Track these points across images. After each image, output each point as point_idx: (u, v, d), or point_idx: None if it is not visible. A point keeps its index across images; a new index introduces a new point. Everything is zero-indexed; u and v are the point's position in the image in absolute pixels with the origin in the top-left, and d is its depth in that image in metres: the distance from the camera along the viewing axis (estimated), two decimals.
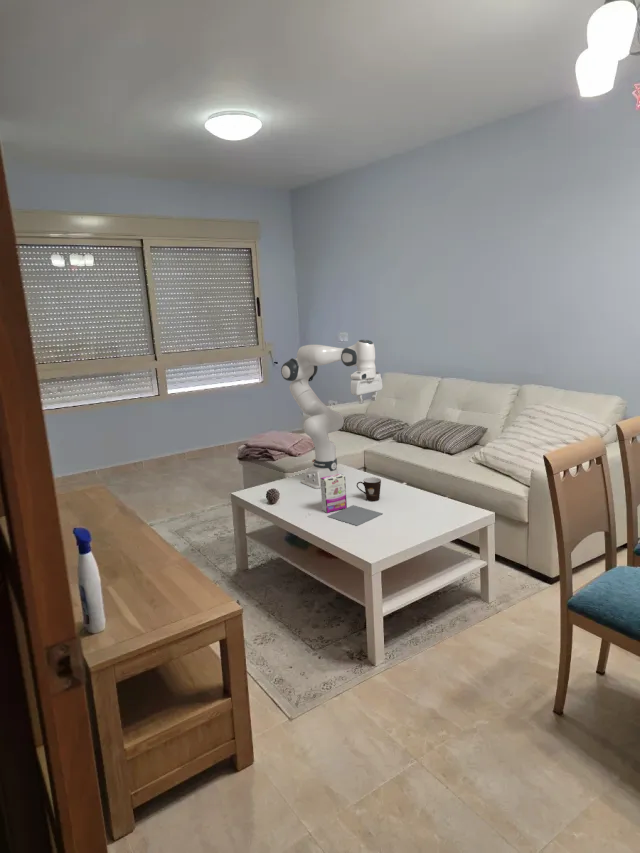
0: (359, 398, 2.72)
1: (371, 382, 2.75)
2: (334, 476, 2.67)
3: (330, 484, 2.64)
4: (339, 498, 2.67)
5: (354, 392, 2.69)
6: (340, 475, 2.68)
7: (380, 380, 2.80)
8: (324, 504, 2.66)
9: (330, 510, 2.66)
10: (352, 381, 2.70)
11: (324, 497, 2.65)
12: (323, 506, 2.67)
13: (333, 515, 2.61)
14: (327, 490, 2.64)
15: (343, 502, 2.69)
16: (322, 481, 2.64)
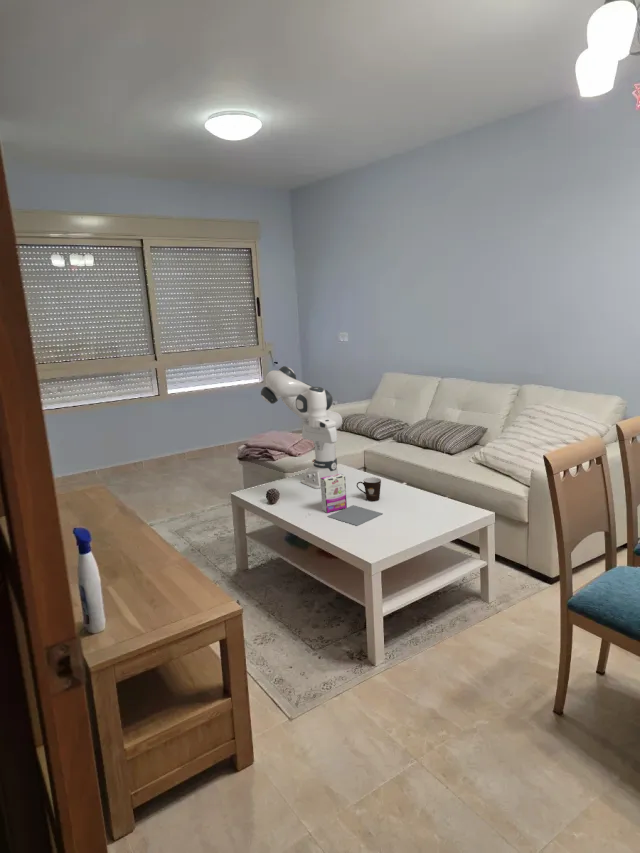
0: (322, 445, 2.68)
1: None
2: (334, 476, 2.67)
3: (330, 484, 2.64)
4: (339, 498, 2.67)
5: (335, 440, 2.62)
6: (340, 475, 2.68)
7: None
8: (324, 504, 2.66)
9: (330, 510, 2.66)
10: (330, 429, 2.60)
11: (324, 497, 2.65)
12: (323, 506, 2.67)
13: (333, 515, 2.61)
14: (327, 490, 2.64)
15: (343, 502, 2.69)
16: (322, 481, 2.64)
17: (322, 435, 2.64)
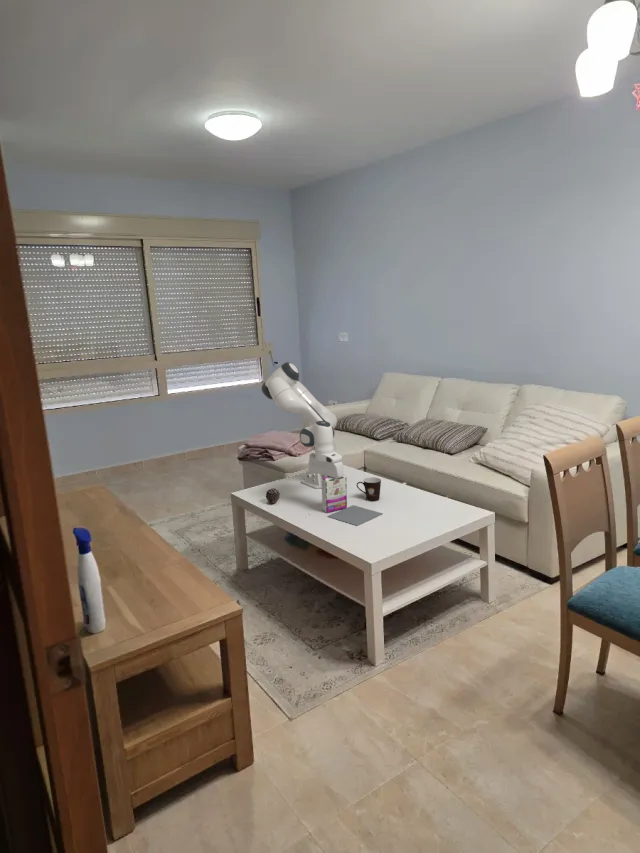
0: None
1: None
2: None
3: (331, 485, 2.63)
4: (339, 499, 2.67)
5: (341, 474, 2.62)
6: None
7: None
8: (324, 504, 2.66)
9: (330, 510, 2.66)
10: (336, 464, 2.61)
11: (325, 497, 2.64)
12: (323, 506, 2.67)
13: (333, 515, 2.61)
14: (328, 491, 2.63)
15: (343, 502, 2.68)
16: (323, 481, 2.63)
17: (328, 469, 2.64)
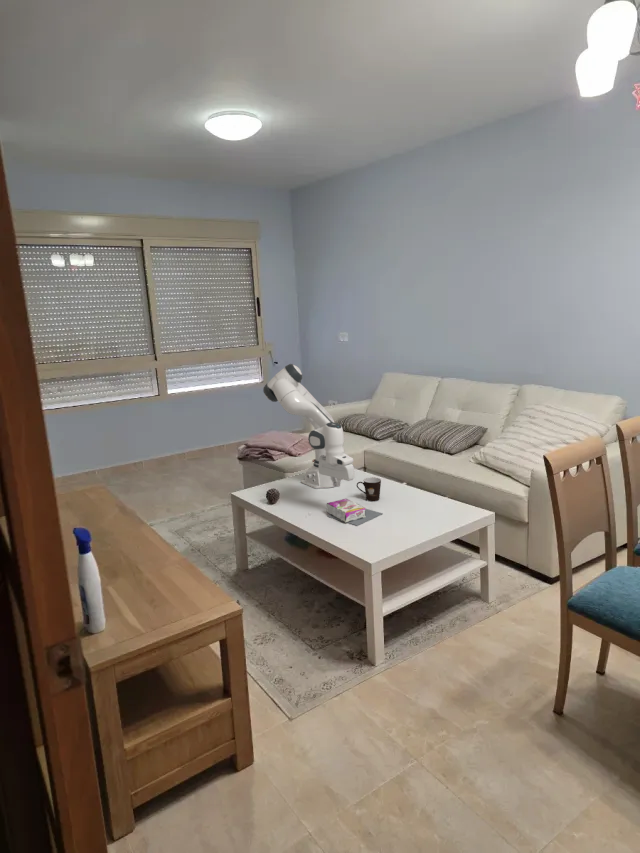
0: (339, 481, 2.63)
1: None
2: (357, 515, 2.54)
3: None
4: None
5: (352, 477, 2.57)
6: (362, 514, 2.55)
7: None
8: (330, 510, 2.61)
9: None
10: (347, 467, 2.56)
11: (335, 514, 2.58)
12: (329, 507, 2.62)
13: None
14: None
15: None
16: (343, 517, 2.52)
17: (339, 472, 2.60)
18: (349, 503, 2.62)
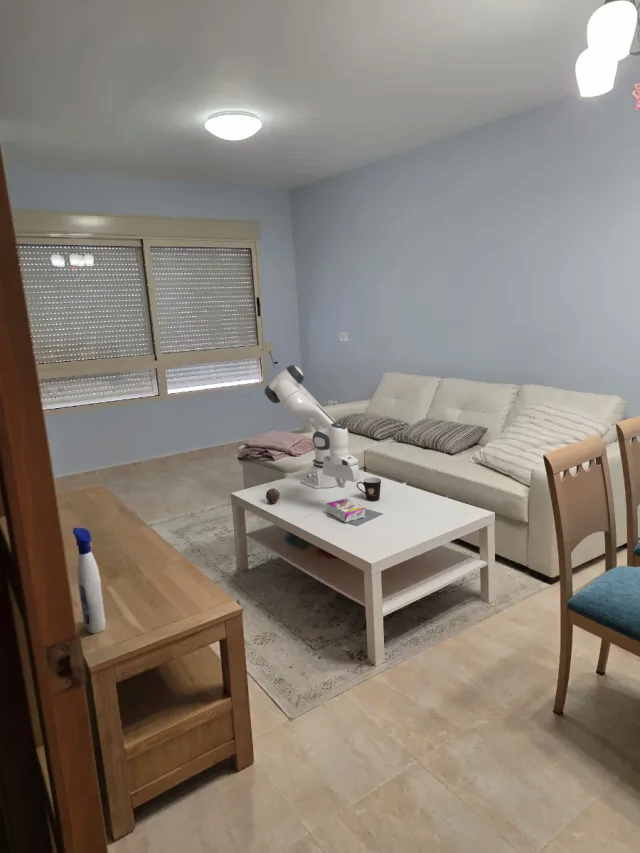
0: (344, 482, 2.62)
1: None
2: (357, 515, 2.54)
3: None
4: None
5: (357, 477, 2.56)
6: (362, 514, 2.55)
7: None
8: (330, 510, 2.61)
9: None
10: (353, 467, 2.54)
11: (335, 514, 2.58)
12: (329, 507, 2.62)
13: None
14: None
15: None
16: (343, 517, 2.52)
17: (344, 473, 2.58)
18: (349, 503, 2.62)
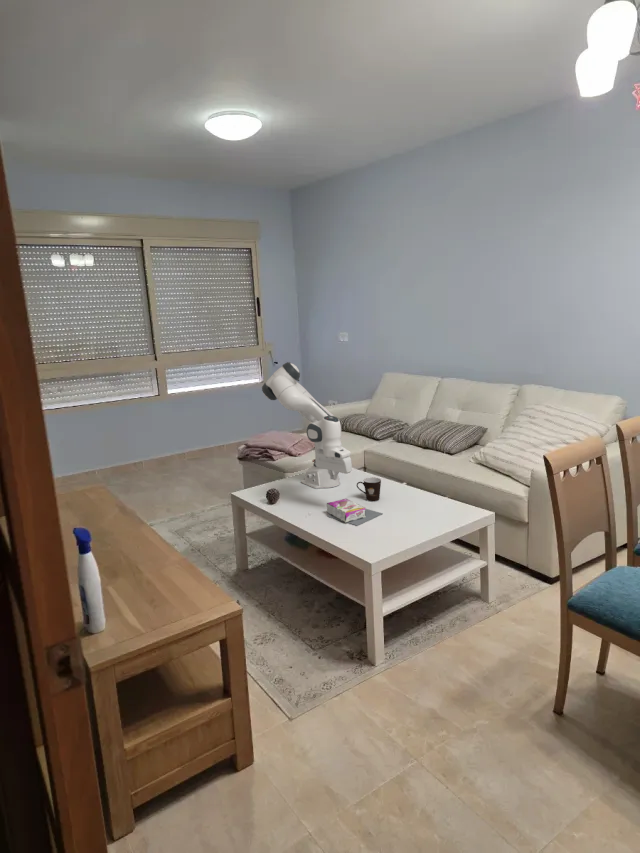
0: (336, 474, 2.65)
1: None
2: (357, 515, 2.54)
3: None
4: None
5: (350, 470, 2.60)
6: (362, 514, 2.55)
7: None
8: (330, 510, 2.61)
9: None
10: (345, 460, 2.58)
11: (335, 514, 2.58)
12: (329, 507, 2.62)
13: None
14: None
15: None
16: (343, 517, 2.52)
17: (337, 465, 2.62)
18: (349, 503, 2.62)
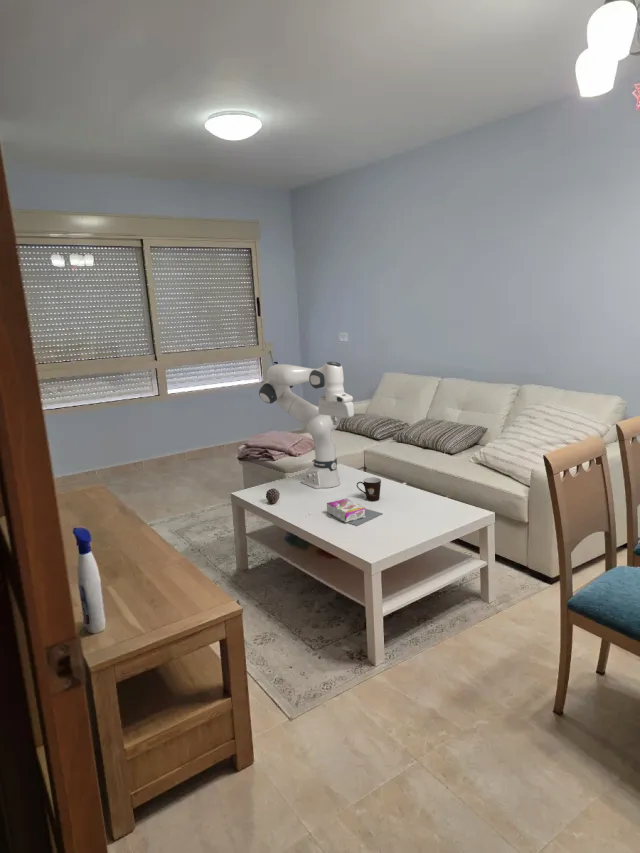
0: (339, 420, 2.68)
1: None
2: (357, 515, 2.54)
3: None
4: None
5: (352, 414, 2.62)
6: (362, 514, 2.55)
7: None
8: (330, 510, 2.61)
9: None
10: (347, 404, 2.60)
11: (335, 514, 2.58)
12: (329, 507, 2.62)
13: None
14: None
15: None
16: (343, 517, 2.52)
17: (339, 410, 2.64)
18: (349, 503, 2.62)
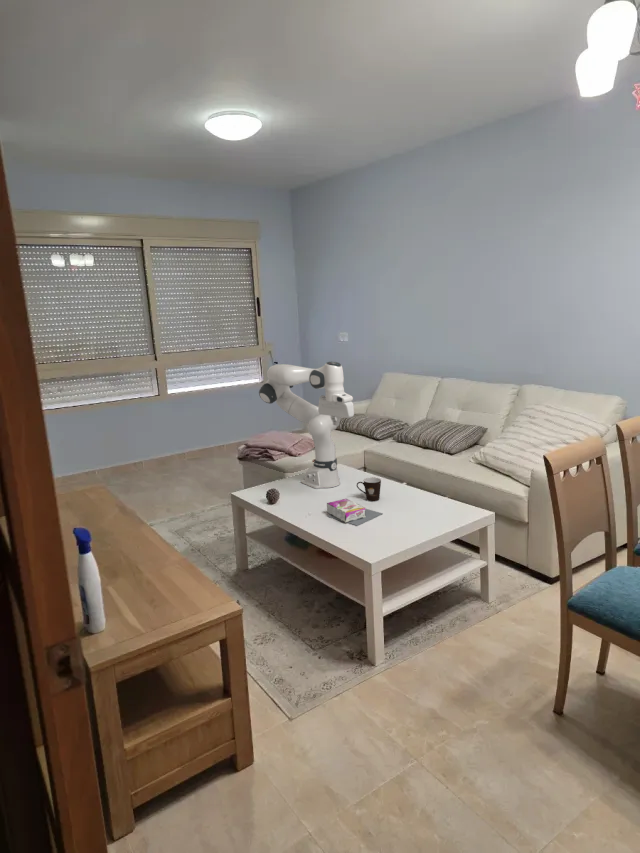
0: (339, 420, 2.68)
1: None
2: (357, 515, 2.54)
3: None
4: None
5: (352, 414, 2.62)
6: (362, 514, 2.55)
7: None
8: (330, 510, 2.61)
9: None
10: (347, 404, 2.60)
11: (335, 514, 2.58)
12: (329, 507, 2.62)
13: None
14: None
15: None
16: (343, 517, 2.52)
17: (339, 410, 2.64)
18: (349, 503, 2.62)
